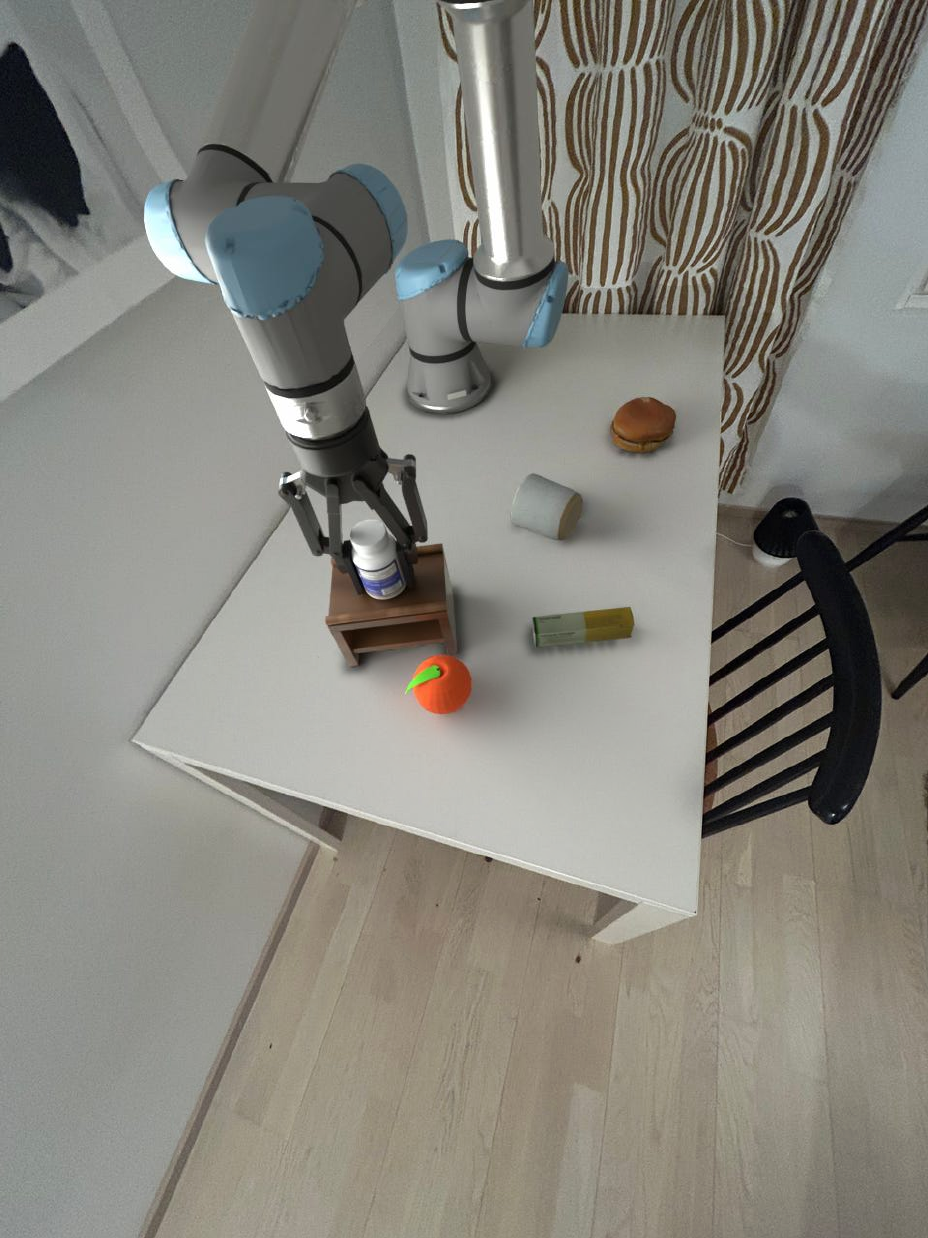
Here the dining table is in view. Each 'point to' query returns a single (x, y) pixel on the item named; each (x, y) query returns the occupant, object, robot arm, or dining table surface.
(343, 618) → the stand
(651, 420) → the burger
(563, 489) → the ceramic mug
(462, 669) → the clementine
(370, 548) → the pill bottle
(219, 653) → the dining table surface
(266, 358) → the robot arm
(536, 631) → the medication box
